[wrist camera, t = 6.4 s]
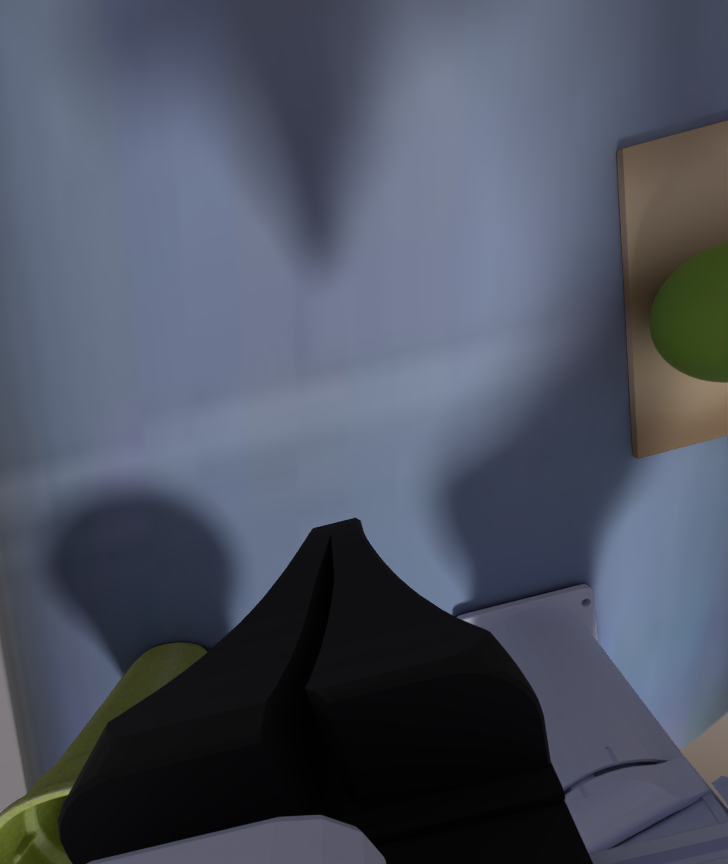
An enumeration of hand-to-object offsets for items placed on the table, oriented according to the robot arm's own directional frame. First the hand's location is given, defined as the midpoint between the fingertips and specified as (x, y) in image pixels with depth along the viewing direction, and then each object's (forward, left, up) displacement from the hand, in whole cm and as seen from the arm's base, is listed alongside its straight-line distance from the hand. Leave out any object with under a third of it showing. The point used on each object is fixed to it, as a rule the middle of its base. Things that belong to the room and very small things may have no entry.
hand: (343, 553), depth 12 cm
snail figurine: (+2, -14, -5) cm, 15 cm away
